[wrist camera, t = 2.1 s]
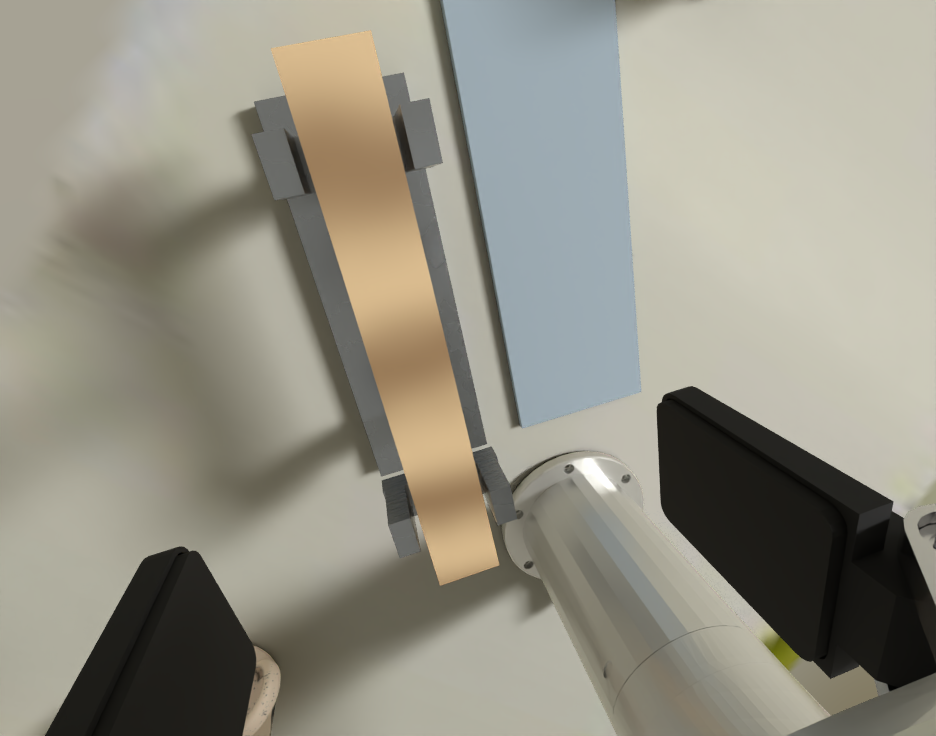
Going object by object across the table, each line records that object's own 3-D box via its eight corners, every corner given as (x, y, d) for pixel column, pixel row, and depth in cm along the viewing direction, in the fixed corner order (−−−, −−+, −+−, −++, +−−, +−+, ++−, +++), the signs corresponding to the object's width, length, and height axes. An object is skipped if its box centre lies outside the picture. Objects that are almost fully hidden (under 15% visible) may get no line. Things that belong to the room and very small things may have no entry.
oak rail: (483, 525, 25) (499, 565, 23) (430, 542, 25) (440, 585, 22) (368, 57, 17) (371, 30, 14) (284, 72, 16) (270, 48, 14)
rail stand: (482, 436, 36) (547, 557, 24) (380, 467, 34) (393, 611, 23) (401, 77, 26) (440, -18, 14) (257, 105, 25) (172, 27, 13)
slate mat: (637, 388, 37) (641, 391, 37) (519, 424, 36) (522, 428, 35) (606, -47, 26) (611, -52, 26) (436, -18, 25) (438, -23, 25)
